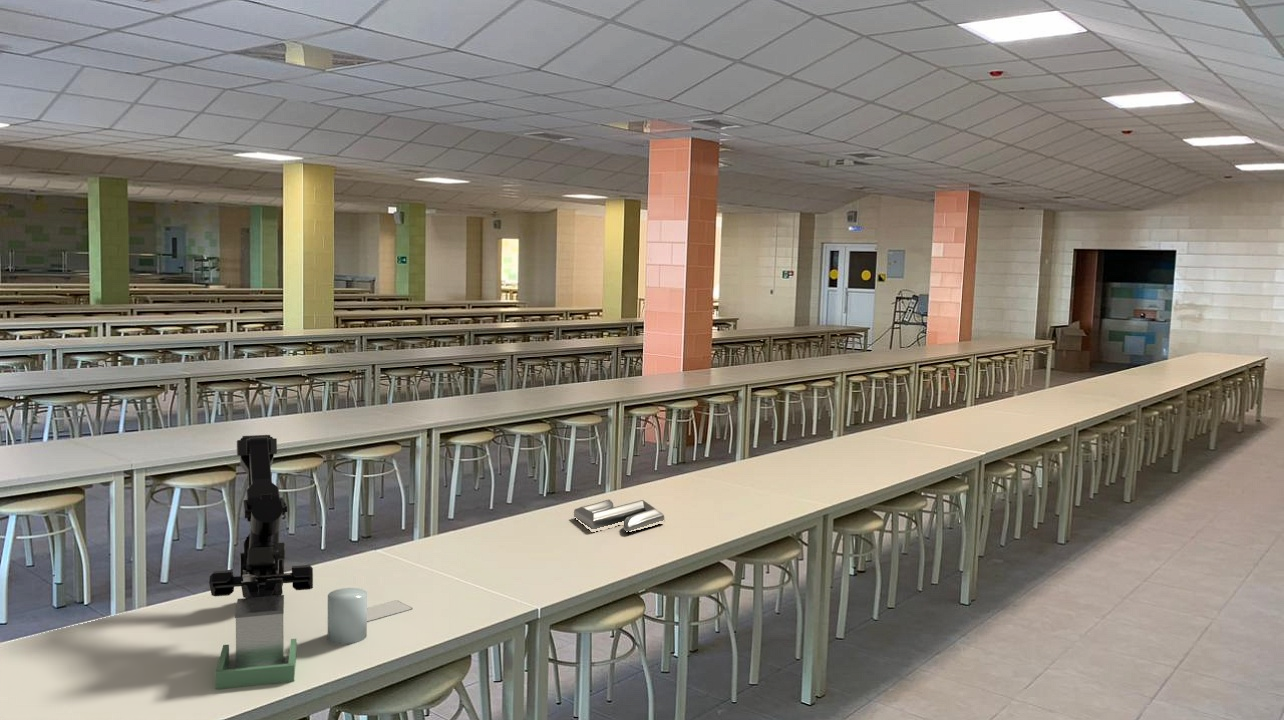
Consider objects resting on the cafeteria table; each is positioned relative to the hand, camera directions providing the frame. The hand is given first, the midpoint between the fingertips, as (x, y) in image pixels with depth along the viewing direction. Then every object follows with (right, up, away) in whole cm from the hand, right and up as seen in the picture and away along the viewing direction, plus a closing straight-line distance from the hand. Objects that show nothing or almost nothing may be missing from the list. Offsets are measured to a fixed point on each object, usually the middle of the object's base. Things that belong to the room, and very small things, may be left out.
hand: (260, 620), depth 176 cm
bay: (+2, -7, -6) cm, 10 cm away
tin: (+1, -7, -3) cm, 8 cm away
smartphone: (+15, -6, +24) cm, 29 cm away
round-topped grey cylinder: (+13, -6, +11) cm, 18 cm away
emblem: (+66, 0, +104) cm, 123 cm away
